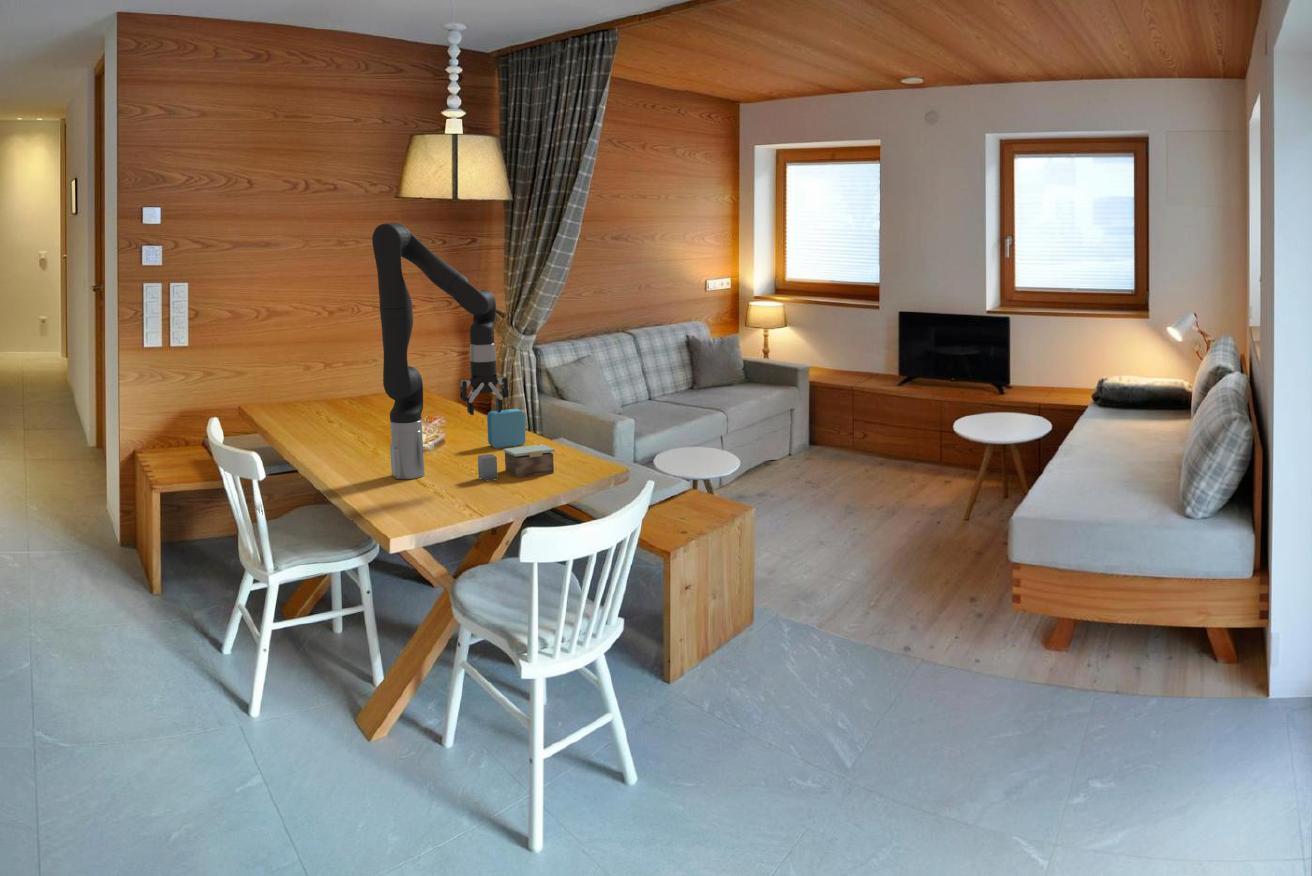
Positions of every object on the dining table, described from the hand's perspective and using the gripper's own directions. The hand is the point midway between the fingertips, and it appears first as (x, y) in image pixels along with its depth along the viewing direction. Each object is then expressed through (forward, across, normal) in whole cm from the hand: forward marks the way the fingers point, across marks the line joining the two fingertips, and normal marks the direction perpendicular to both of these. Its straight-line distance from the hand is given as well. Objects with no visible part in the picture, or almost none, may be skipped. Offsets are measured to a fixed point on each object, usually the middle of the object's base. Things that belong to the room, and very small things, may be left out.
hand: (485, 413), depth 311 cm
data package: (+20, +20, +39) cm, 48 cm away
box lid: (+14, +14, +1) cm, 20 cm away
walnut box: (+20, +14, +2) cm, 25 cm away
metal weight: (+20, 0, 0) cm, 20 cm away
